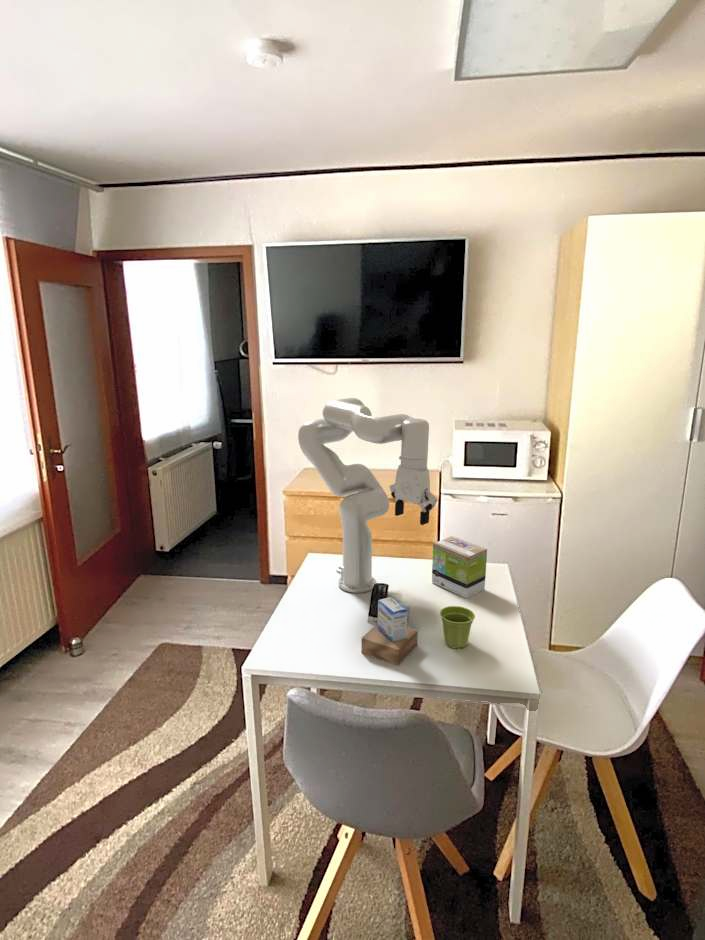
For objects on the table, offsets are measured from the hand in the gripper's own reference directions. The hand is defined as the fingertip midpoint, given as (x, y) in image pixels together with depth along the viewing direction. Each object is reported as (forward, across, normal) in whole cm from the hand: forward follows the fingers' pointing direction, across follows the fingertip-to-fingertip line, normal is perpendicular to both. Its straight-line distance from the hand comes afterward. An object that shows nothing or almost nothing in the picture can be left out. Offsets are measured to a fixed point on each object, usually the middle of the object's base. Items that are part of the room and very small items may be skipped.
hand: (411, 519), depth 168 cm
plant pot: (+29, +22, -5) cm, 36 cm away
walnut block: (+29, +12, -20) cm, 38 cm away
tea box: (+29, +2, +23) cm, 38 cm away
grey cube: (+29, +4, -9) cm, 31 cm away
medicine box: (+25, +12, -20) cm, 34 cm away
